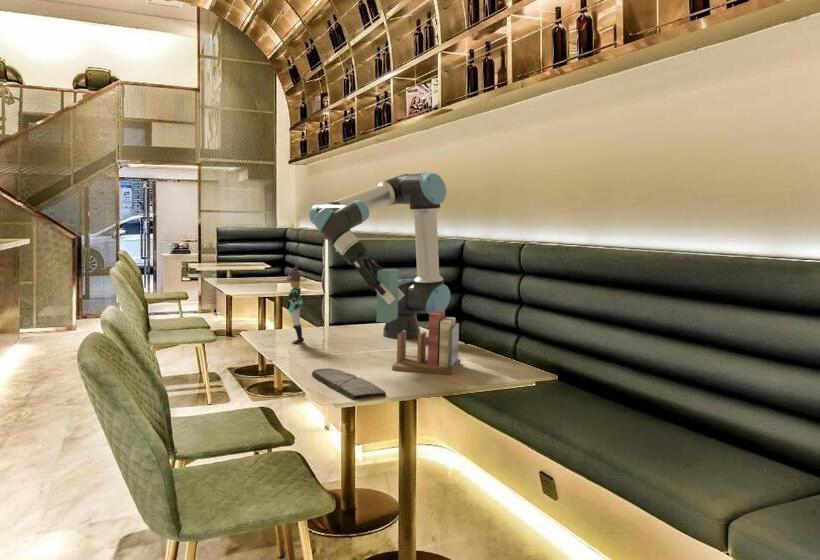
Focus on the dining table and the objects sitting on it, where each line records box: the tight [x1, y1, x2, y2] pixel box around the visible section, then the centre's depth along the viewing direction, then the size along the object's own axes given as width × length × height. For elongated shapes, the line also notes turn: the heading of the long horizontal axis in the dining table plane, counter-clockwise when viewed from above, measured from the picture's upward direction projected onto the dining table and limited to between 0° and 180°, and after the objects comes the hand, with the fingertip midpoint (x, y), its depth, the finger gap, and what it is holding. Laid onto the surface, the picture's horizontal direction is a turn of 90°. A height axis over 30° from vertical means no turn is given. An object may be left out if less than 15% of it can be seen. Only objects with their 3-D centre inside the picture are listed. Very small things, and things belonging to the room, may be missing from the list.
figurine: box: [282, 262, 308, 345], centre depth 226 cm, size 20×9×30 cm, turn 2°
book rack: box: [391, 310, 461, 376], centre depth 193 cm, size 16×18×18 cm
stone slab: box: [311, 367, 387, 401], centre depth 169 cm, size 10×3×30 cm
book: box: [376, 268, 400, 323], centre depth 195 cm, size 10×4×16 cm, turn 165°
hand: (396, 299), depth 194 cm, fingers closed on book, 10 cm apart
